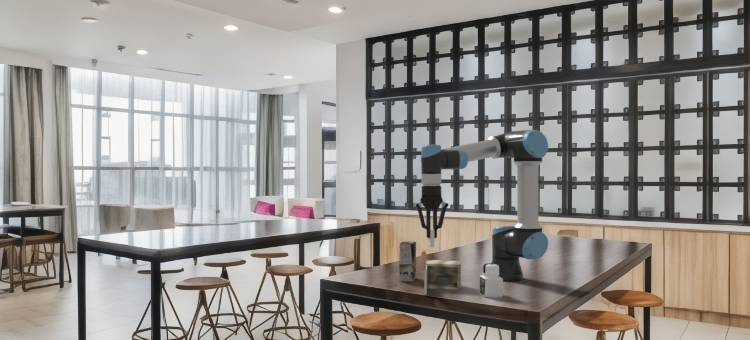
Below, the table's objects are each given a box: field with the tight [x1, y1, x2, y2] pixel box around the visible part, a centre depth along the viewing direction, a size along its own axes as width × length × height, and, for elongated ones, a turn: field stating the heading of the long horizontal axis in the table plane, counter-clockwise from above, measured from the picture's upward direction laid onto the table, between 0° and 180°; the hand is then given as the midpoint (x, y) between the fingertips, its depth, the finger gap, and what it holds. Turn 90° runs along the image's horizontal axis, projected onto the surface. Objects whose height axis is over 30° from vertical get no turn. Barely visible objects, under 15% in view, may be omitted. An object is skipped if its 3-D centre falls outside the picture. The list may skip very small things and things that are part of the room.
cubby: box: [426, 259, 462, 291], centre depth 231 cm, size 14×9×10 cm, turn 80°
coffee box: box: [398, 241, 417, 283], centre depth 246 cm, size 9×6×16 cm
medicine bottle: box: [479, 262, 504, 298], centre depth 216 cm, size 7×7×12 cm
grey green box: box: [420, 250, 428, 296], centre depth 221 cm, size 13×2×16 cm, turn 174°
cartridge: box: [437, 276, 449, 286], centre depth 231 cm, size 5×4×3 cm
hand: (431, 246), depth 216 cm, fingers closed
